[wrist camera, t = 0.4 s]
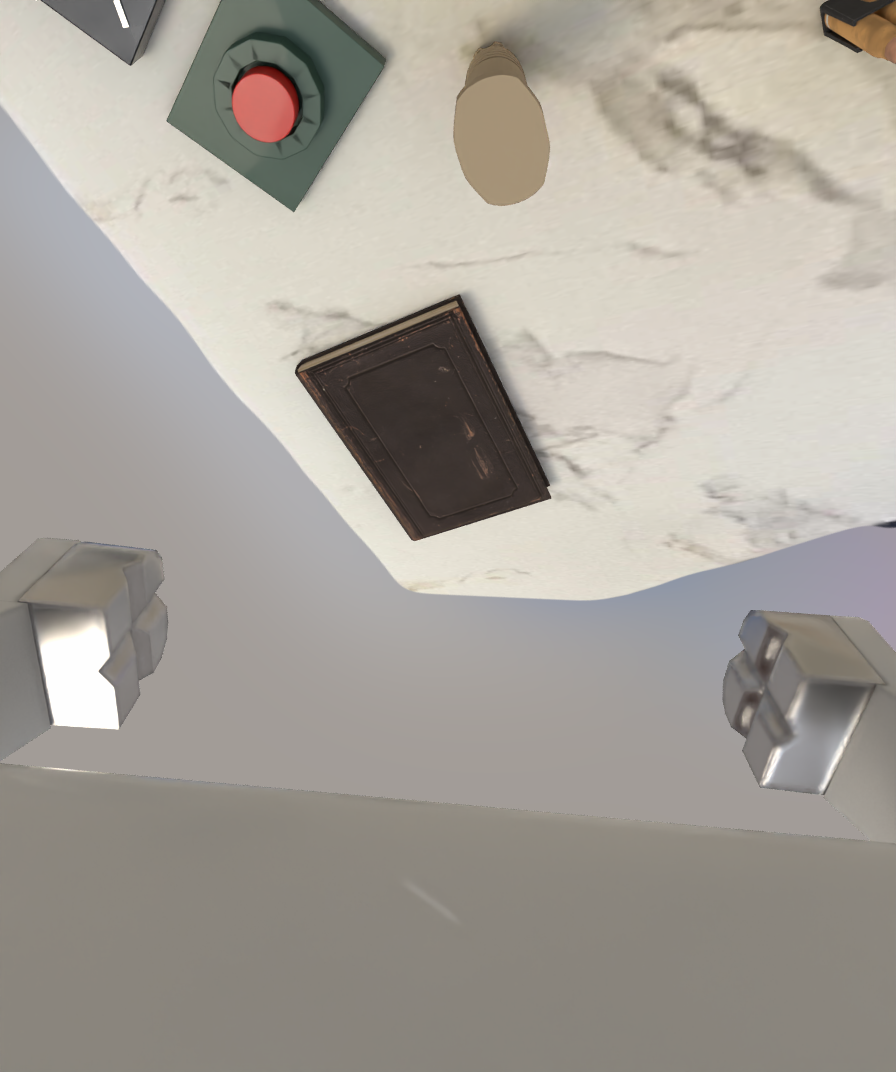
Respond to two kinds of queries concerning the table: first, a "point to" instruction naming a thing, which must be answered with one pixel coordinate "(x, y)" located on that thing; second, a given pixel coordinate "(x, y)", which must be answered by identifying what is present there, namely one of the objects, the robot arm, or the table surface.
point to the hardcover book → (428, 420)
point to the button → (265, 104)
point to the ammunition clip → (862, 25)
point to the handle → (500, 129)
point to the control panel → (113, 22)
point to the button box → (309, 63)
